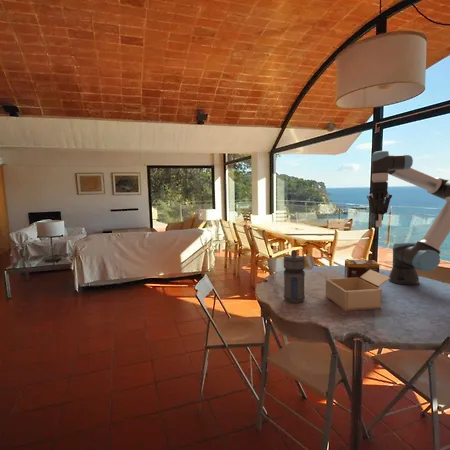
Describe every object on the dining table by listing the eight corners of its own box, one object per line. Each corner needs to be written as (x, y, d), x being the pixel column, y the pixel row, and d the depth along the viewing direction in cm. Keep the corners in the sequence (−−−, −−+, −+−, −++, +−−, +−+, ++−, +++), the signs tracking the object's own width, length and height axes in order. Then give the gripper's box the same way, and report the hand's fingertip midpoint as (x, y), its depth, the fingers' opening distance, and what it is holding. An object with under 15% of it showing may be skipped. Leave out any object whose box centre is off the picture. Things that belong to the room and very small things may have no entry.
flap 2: (360, 277, 153) (370, 270, 153) (379, 286, 137) (390, 278, 137) (359, 276, 153) (370, 269, 153) (378, 286, 137) (389, 277, 137)
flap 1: (327, 278, 151) (317, 271, 150) (343, 288, 136) (331, 280, 135) (327, 279, 151) (317, 272, 150) (342, 289, 136) (331, 281, 135)
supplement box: (379, 293, 156) (379, 264, 154) (347, 292, 159) (348, 263, 157) (373, 287, 166) (374, 260, 164) (344, 286, 169) (344, 259, 167)
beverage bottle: (304, 295, 156) (304, 248, 153) (305, 304, 143) (305, 253, 141) (284, 294, 158) (283, 248, 156) (283, 303, 145) (283, 253, 143)
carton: (357, 293, 156) (357, 277, 155) (381, 308, 136) (382, 289, 135) (325, 295, 155) (325, 278, 154) (345, 311, 134) (345, 291, 133)
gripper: (386, 181, 160) (385, 225, 162) (363, 182, 158) (362, 226, 161) (396, 181, 152) (394, 227, 155) (372, 181, 151) (371, 228, 153)
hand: (378, 226), depth 158 cm, fingers closed
